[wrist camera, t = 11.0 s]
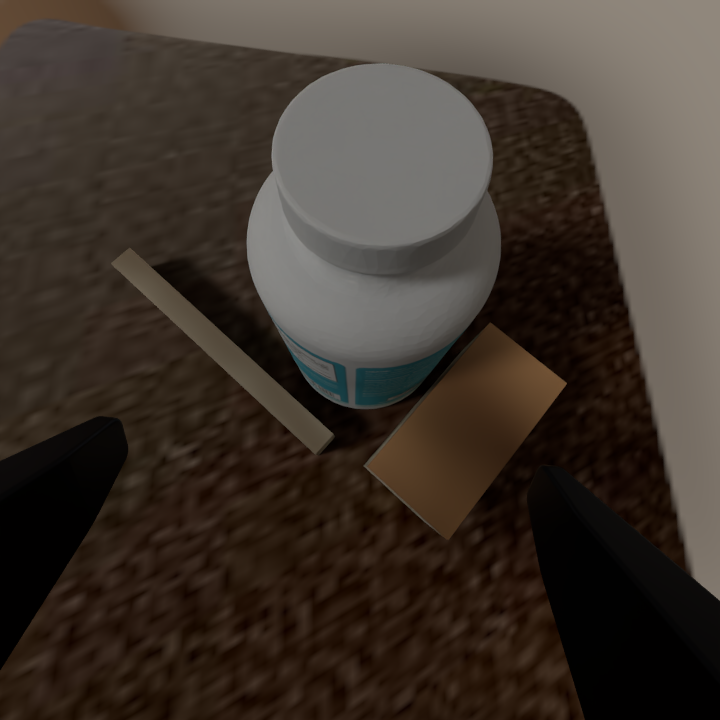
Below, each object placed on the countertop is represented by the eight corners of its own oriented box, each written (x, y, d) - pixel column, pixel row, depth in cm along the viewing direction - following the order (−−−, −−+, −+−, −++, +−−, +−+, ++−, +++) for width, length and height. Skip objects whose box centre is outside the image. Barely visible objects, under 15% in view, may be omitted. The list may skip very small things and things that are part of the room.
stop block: (425, 523, 19) (447, 540, 15) (363, 465, 20) (367, 466, 15) (521, 399, 21) (567, 383, 16) (461, 350, 21) (490, 322, 17)
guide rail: (318, 455, 20) (315, 454, 18) (132, 281, 22) (110, 263, 20) (334, 437, 20) (333, 434, 18) (148, 266, 22) (129, 247, 20)
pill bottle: (438, 289, 22) (568, 36, 9) (426, 421, 20) (567, 341, 7) (306, 271, 22) (245, -6, 9) (281, 400, 20) (160, 284, 7)
